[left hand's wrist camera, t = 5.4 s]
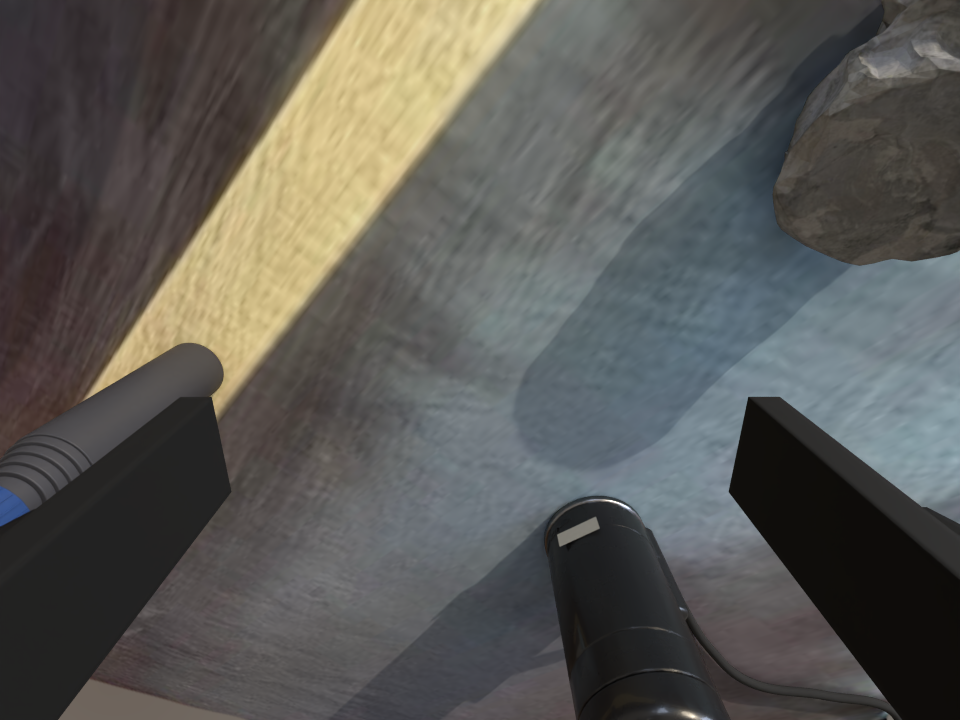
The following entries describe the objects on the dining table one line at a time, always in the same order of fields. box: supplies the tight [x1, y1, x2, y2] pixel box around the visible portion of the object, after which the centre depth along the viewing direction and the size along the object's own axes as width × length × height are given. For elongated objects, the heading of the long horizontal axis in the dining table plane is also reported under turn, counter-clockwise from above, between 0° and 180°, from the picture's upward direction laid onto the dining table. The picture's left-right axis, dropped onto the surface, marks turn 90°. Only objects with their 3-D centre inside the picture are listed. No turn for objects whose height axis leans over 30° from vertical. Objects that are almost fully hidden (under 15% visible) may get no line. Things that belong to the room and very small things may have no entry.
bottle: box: [0, 343, 223, 511], centre depth 33 cm, size 5×5×20 cm
